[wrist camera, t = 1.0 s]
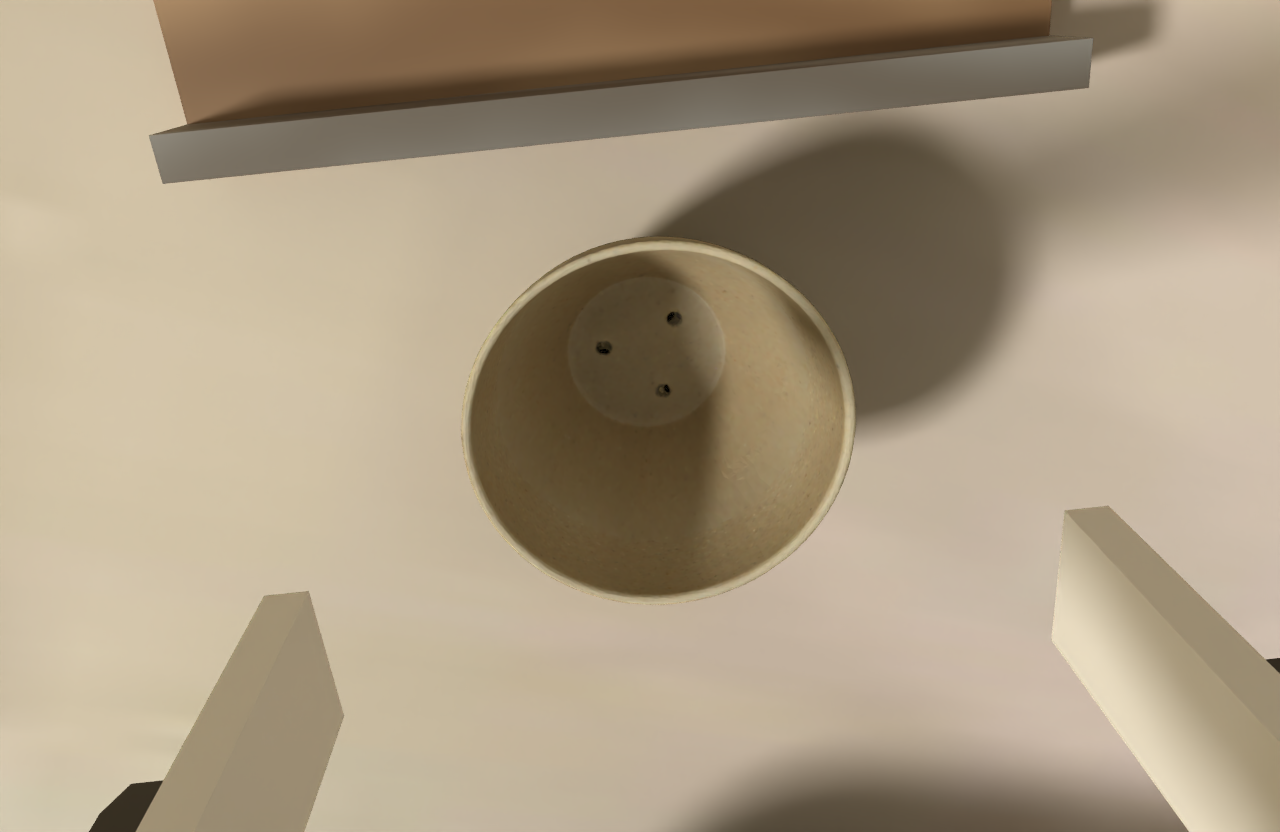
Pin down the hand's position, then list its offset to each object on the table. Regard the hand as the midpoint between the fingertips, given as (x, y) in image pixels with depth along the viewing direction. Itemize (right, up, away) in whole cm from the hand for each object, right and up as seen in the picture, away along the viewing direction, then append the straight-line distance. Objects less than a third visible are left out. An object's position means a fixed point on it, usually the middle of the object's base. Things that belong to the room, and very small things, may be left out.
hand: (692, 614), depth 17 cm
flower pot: (-1, +6, +14) cm, 15 cm away
